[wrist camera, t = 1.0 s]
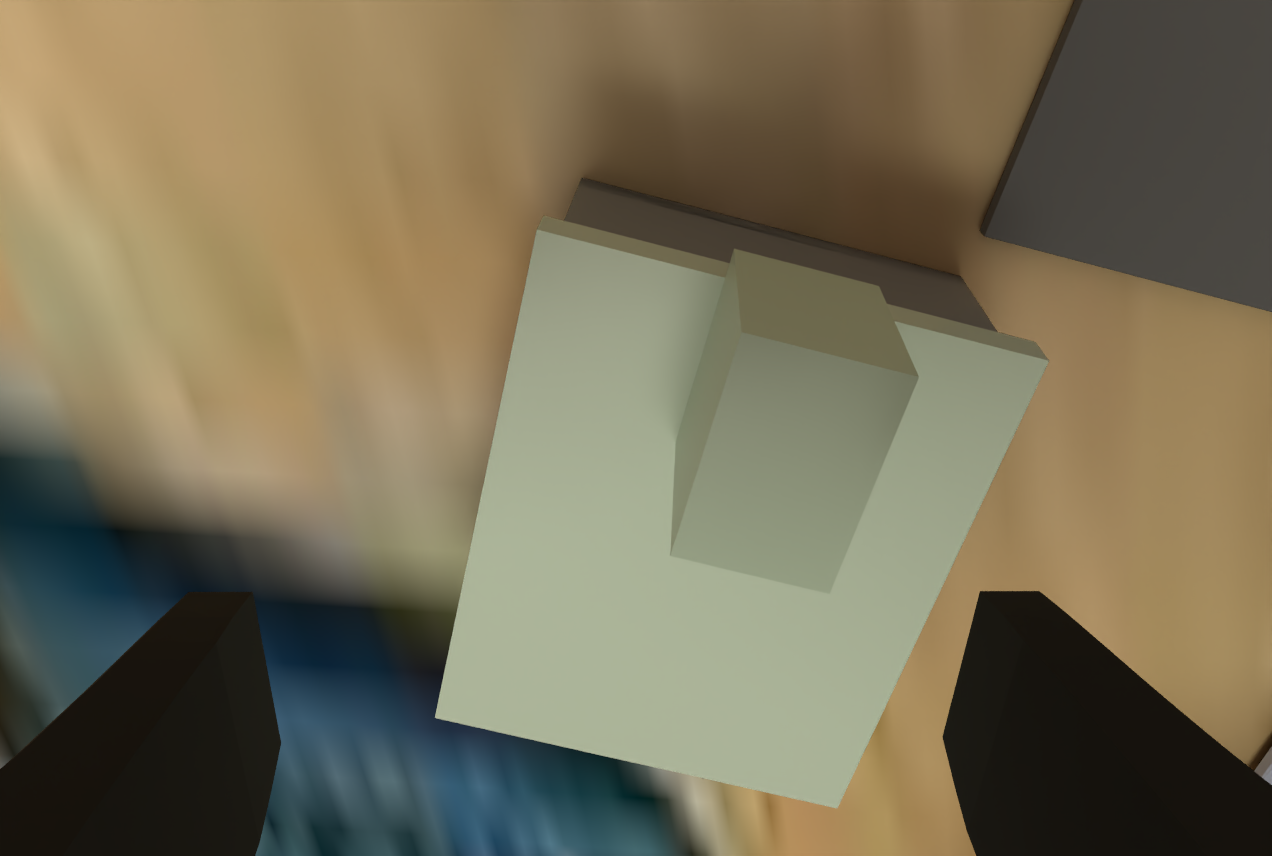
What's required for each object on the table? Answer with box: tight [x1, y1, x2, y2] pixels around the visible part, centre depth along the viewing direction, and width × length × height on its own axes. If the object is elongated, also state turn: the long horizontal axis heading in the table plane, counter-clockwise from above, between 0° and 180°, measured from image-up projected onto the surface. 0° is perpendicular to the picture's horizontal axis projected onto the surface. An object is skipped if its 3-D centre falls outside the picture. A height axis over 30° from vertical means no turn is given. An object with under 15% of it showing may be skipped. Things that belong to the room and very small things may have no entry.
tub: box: [564, 178, 997, 332], centre depth 22 cm, size 8×10×4 cm
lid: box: [435, 216, 1049, 808], centre depth 18 cm, size 9×11×5 cm
